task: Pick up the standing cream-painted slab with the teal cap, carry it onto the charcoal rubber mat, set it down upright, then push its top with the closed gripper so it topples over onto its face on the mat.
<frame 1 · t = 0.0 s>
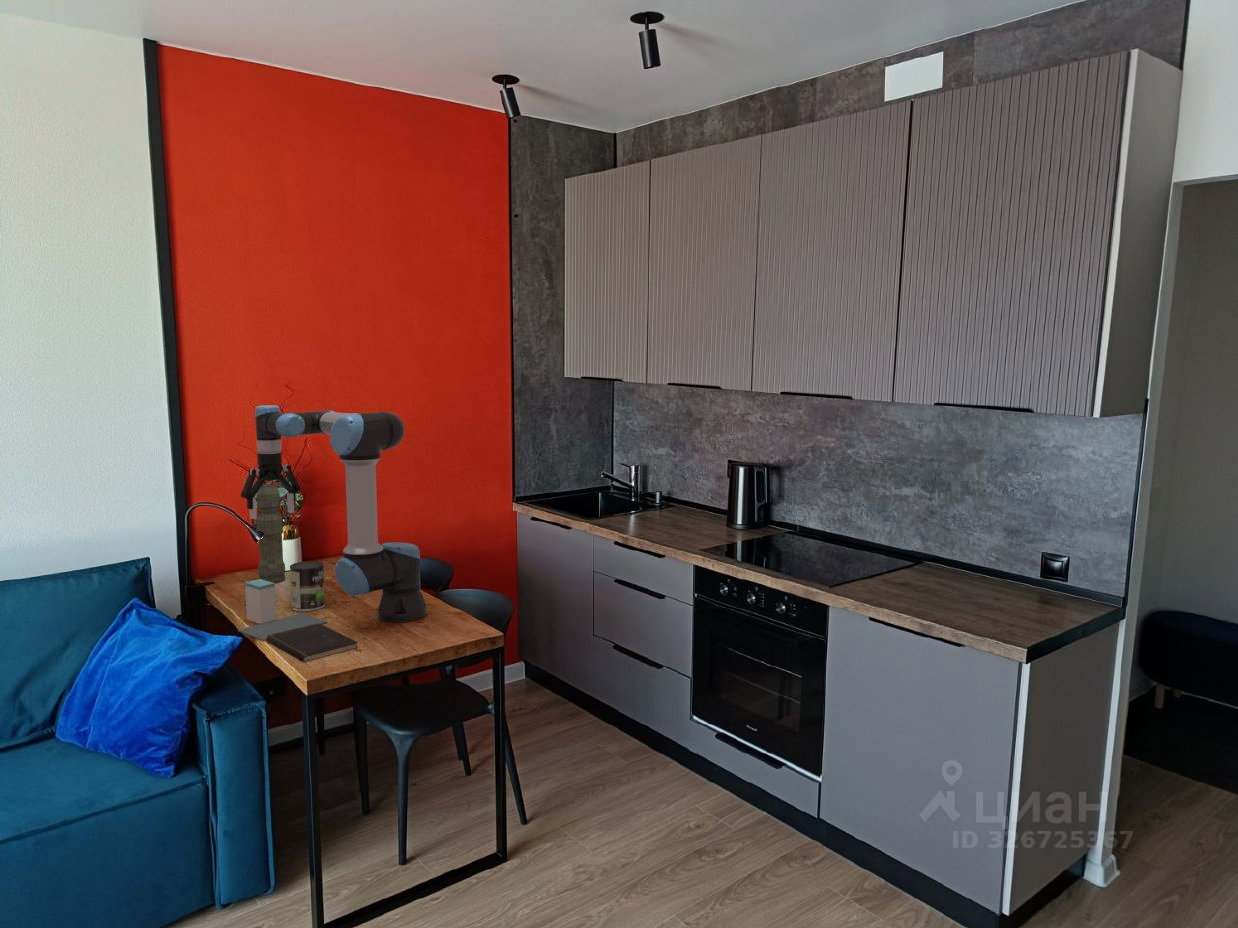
hand: (272, 515, 284), 28 cm above the table, fingers open, 13 cm apart
coffee can: (308, 607, 277), on the table
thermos: (272, 580, 307), on the table
mat: (283, 627, 257), on the table
hardcover book: (312, 647, 242), on the table
slab: (261, 620, 263), on the table
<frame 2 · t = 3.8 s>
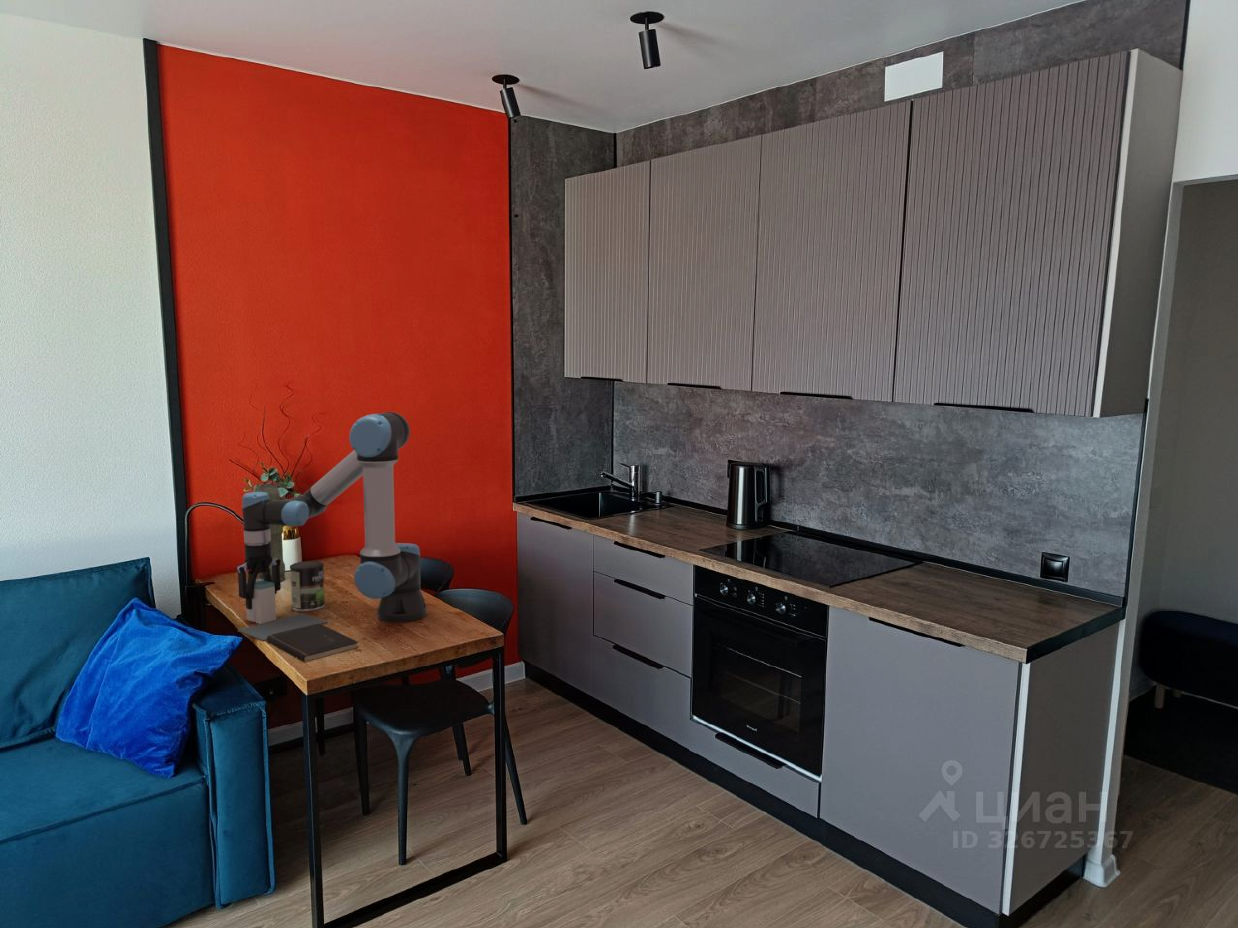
hand: (261, 616, 263), 1 cm above the table, fingers closed on slab, 5 cm apart
slab: (261, 620, 263), on the table, touching gripper
everything else where it was.
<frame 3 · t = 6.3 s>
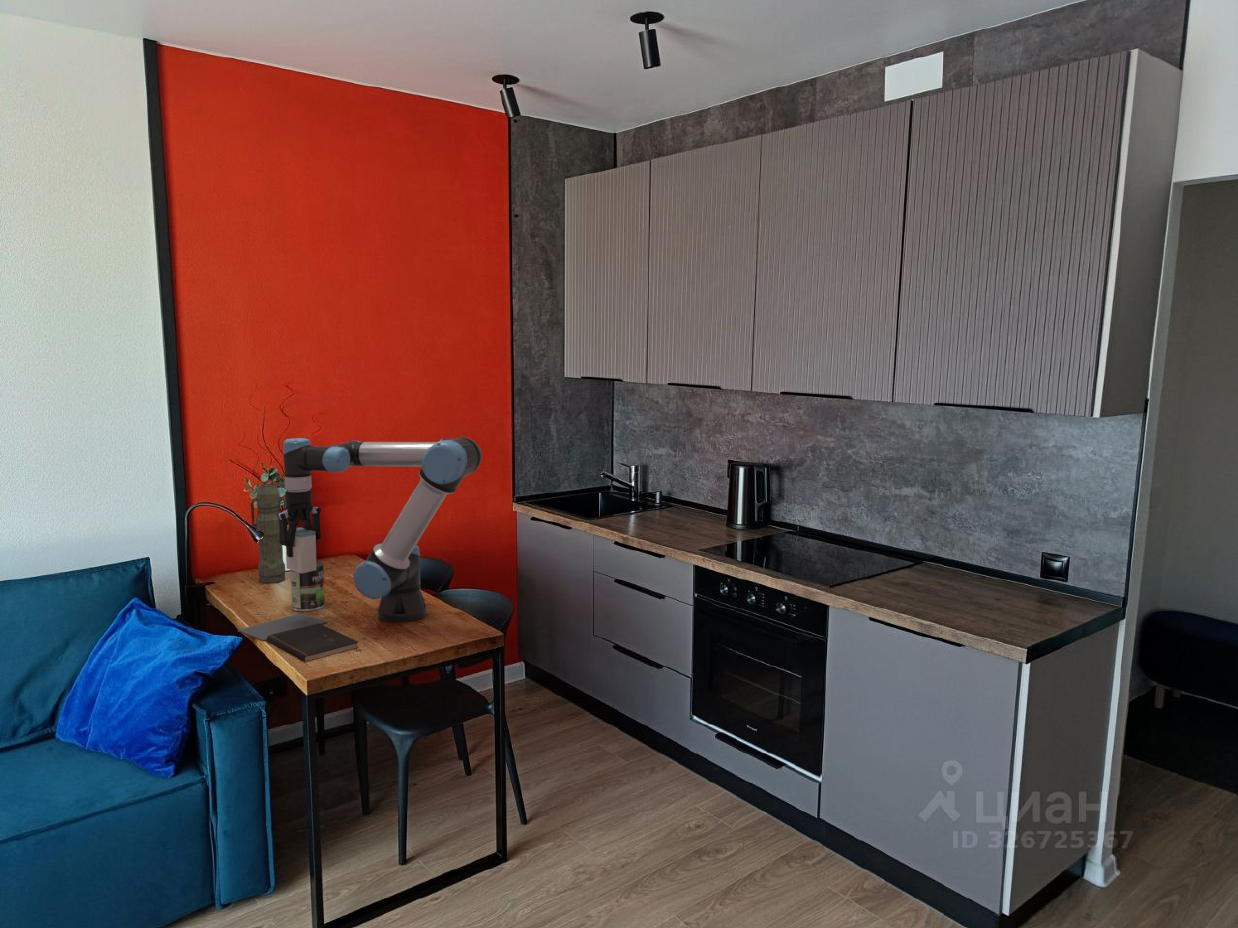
hand: (301, 565, 259), 18 cm above the table, fingers closed on slab, 5 cm apart
slab: (301, 569, 259), point 17 cm above the table, touching gripper
everything else where it was.
when the fingers open (3 cm above the table, at t = 9.3 s): slab stays where it is, resting on mat.
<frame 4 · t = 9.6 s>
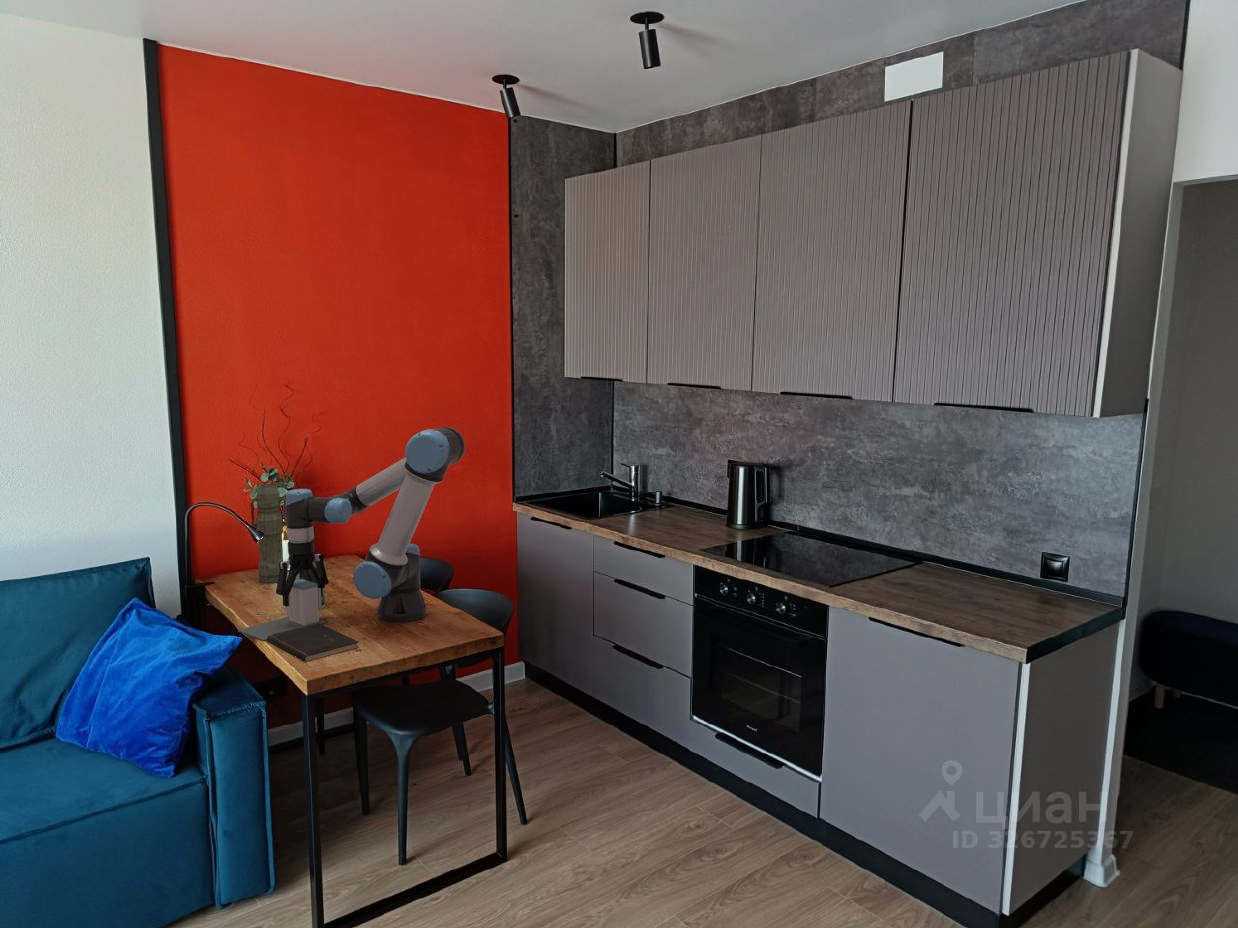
hand: (303, 611, 261), 3 cm above the table, fingers open, 9 cm apart
slab: (304, 620, 261), resting on mat
everything else where it was.
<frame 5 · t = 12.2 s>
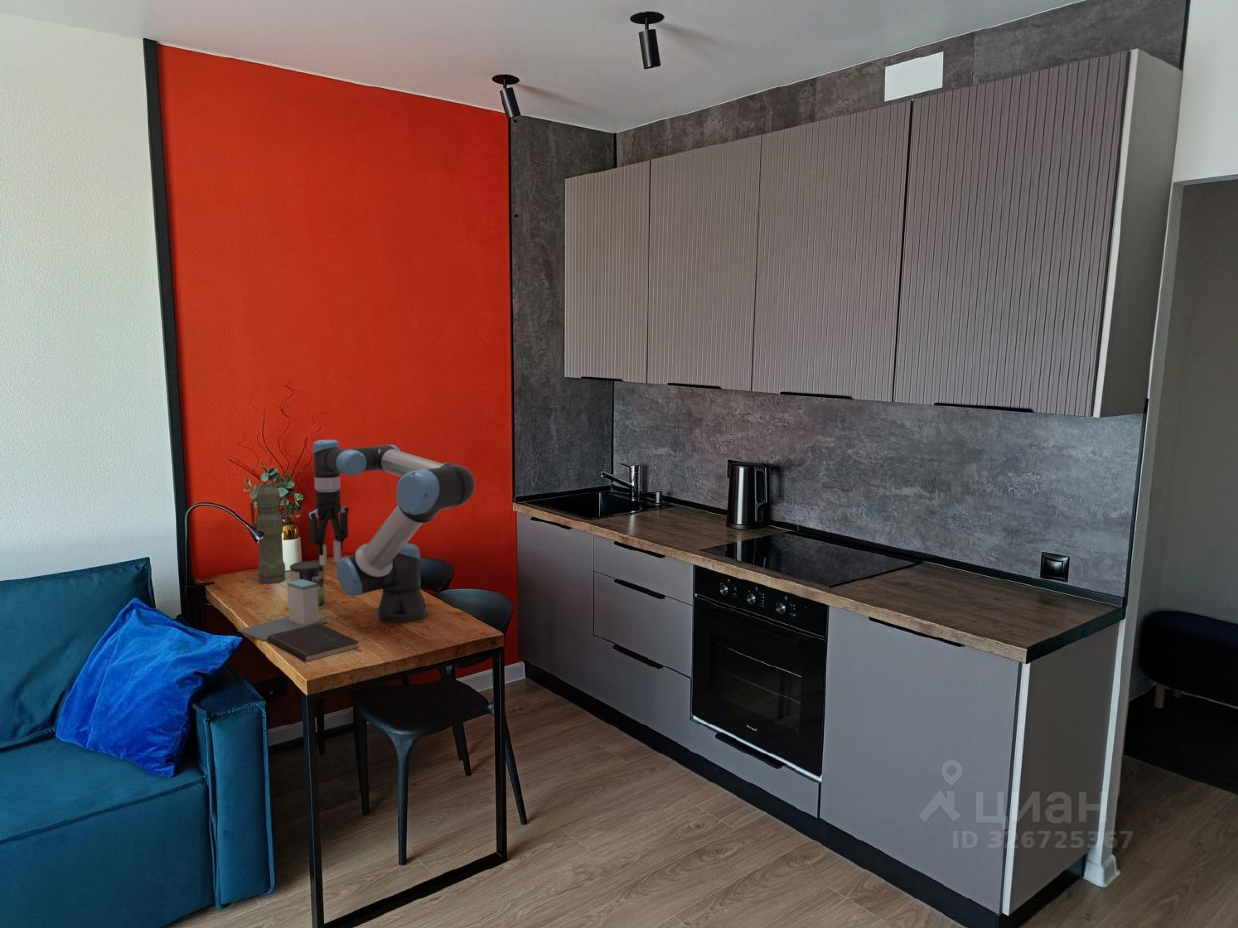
hand: (330, 563, 267), 17 cm above the table, fingers open, 4 cm apart
nothing on the table moved.
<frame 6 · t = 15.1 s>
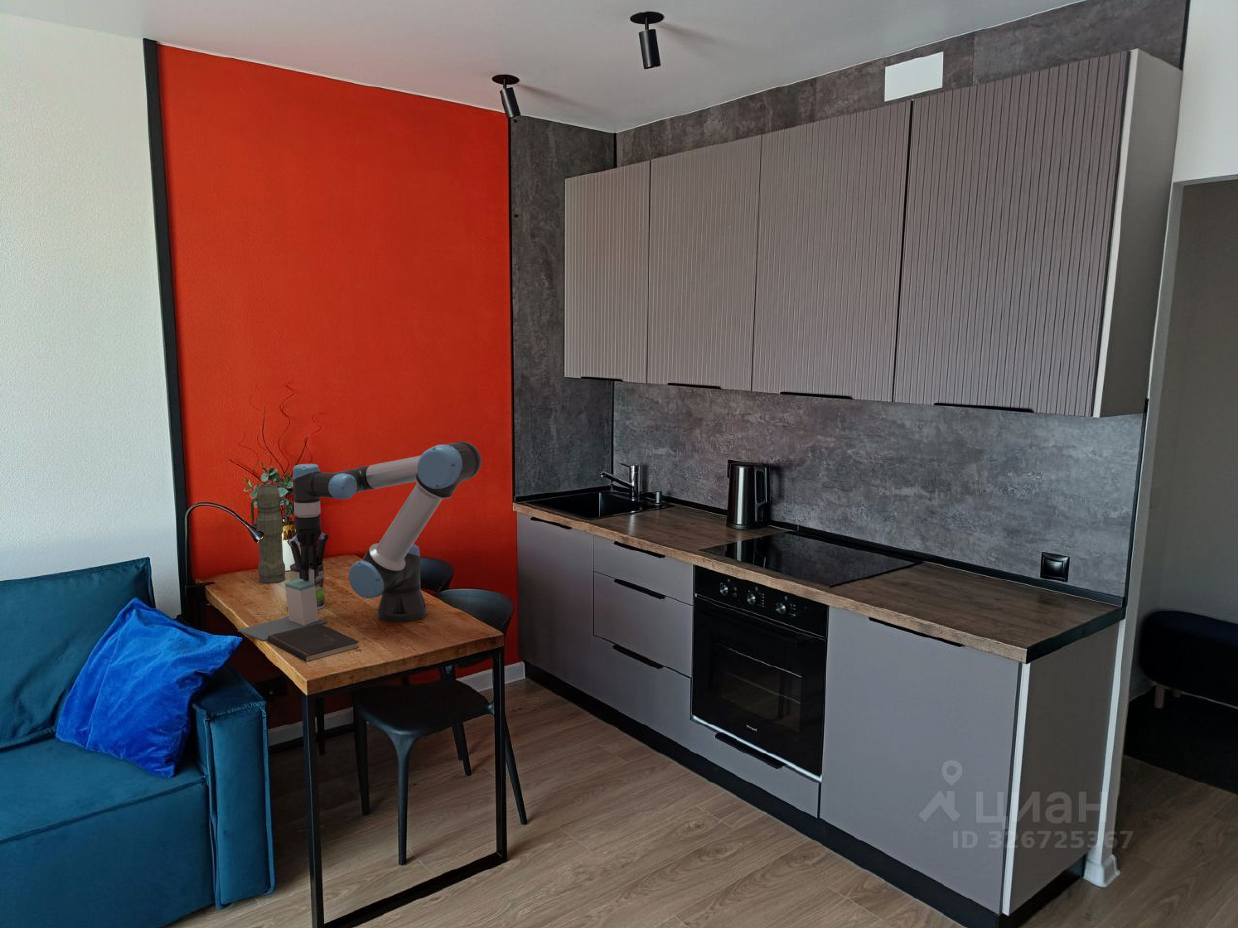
hand: (310, 589, 262), 10 cm above the table, fingers closed
nothing on the table moved.
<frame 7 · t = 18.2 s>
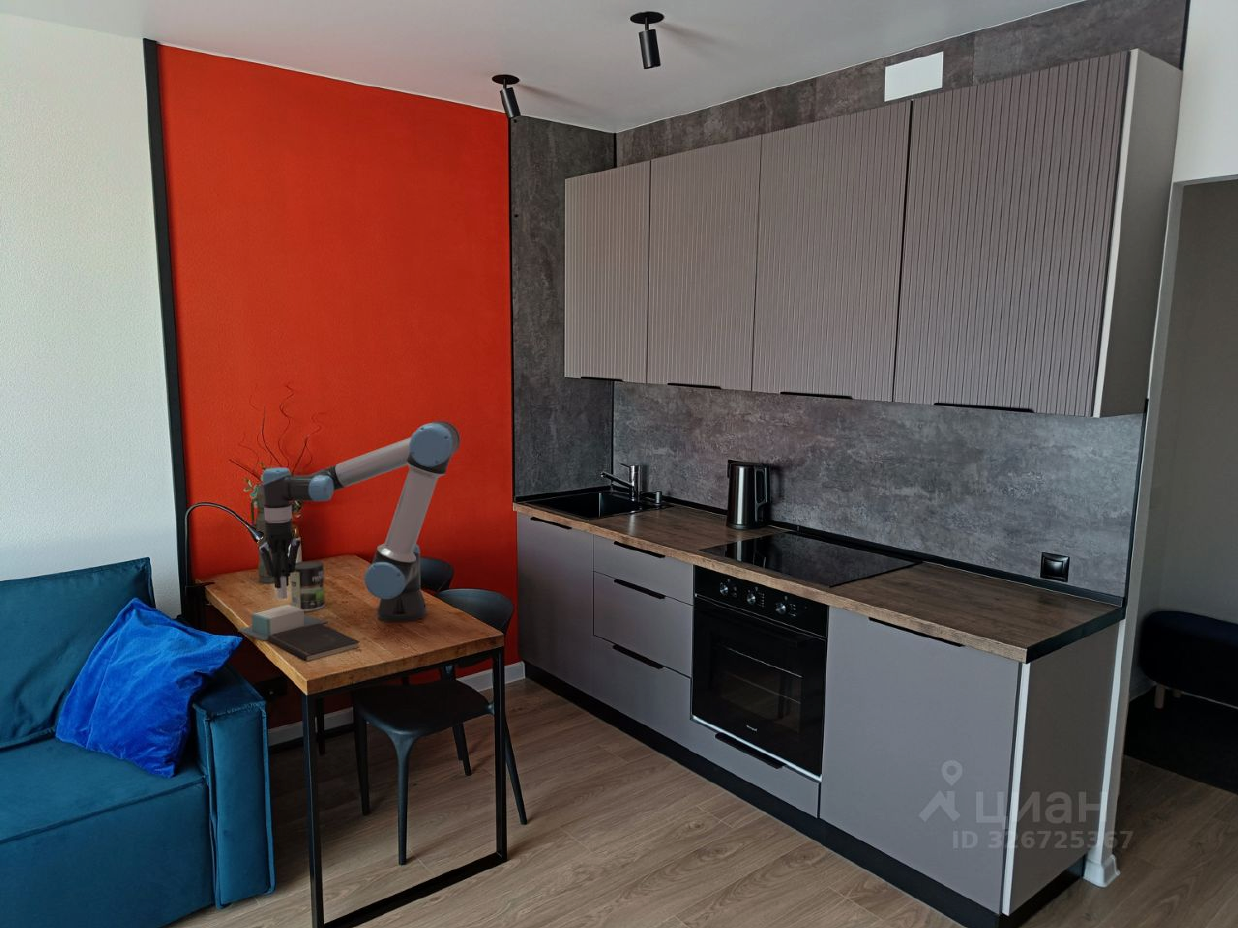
hand: (282, 597, 254), 9 cm above the table, fingers closed
slab: (296, 615, 259), point 3 cm above the table, tilted 90°, touching mat
everything else where it was.
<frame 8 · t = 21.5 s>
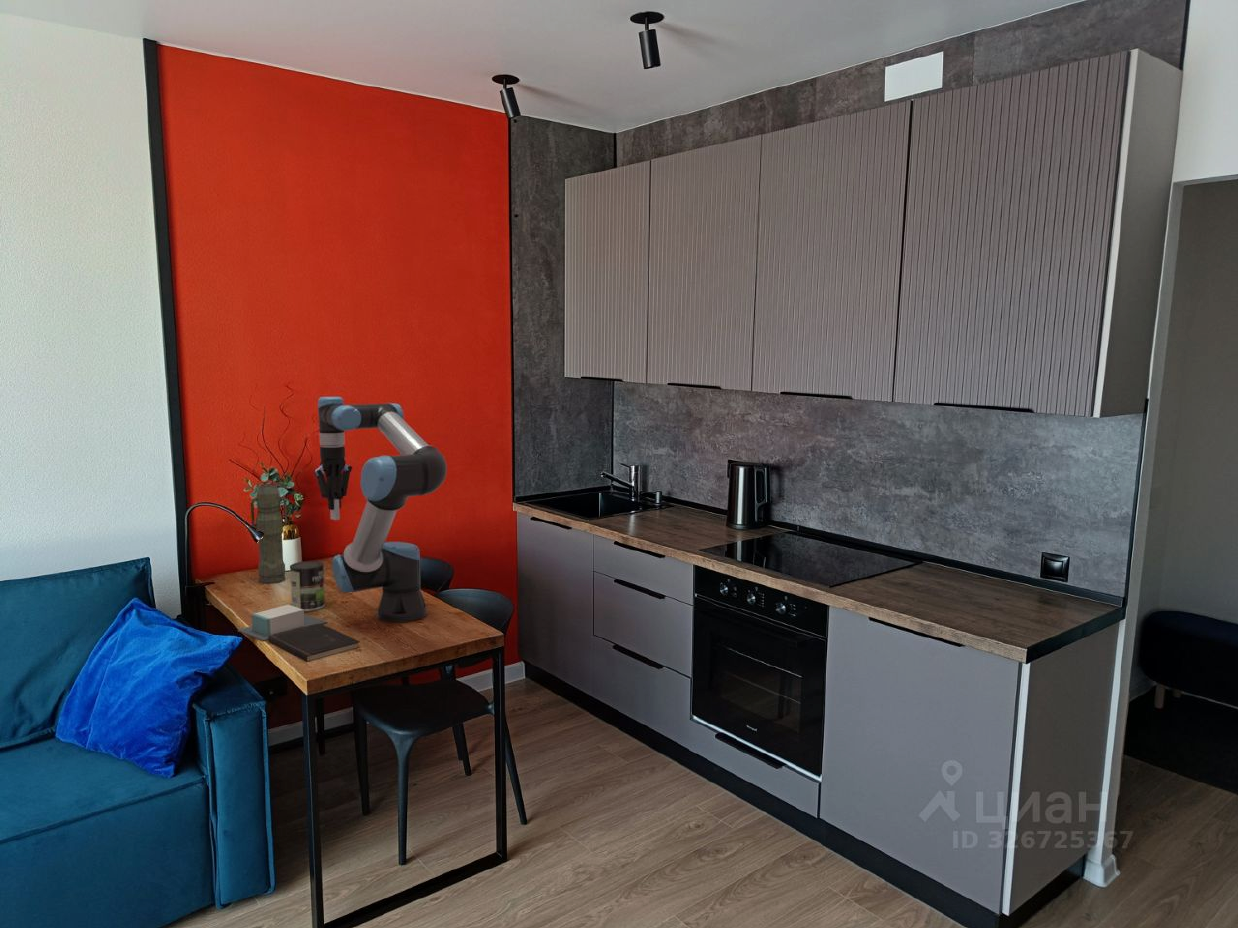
hand: (335, 519, 271), 29 cm above the table, fingers closed
nothing on the table moved.
at the end: slab tilted 90°; slab inside the target area (4.7 cm from its centre), point 2.9 cm above the table; the gripper is holding nothing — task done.
